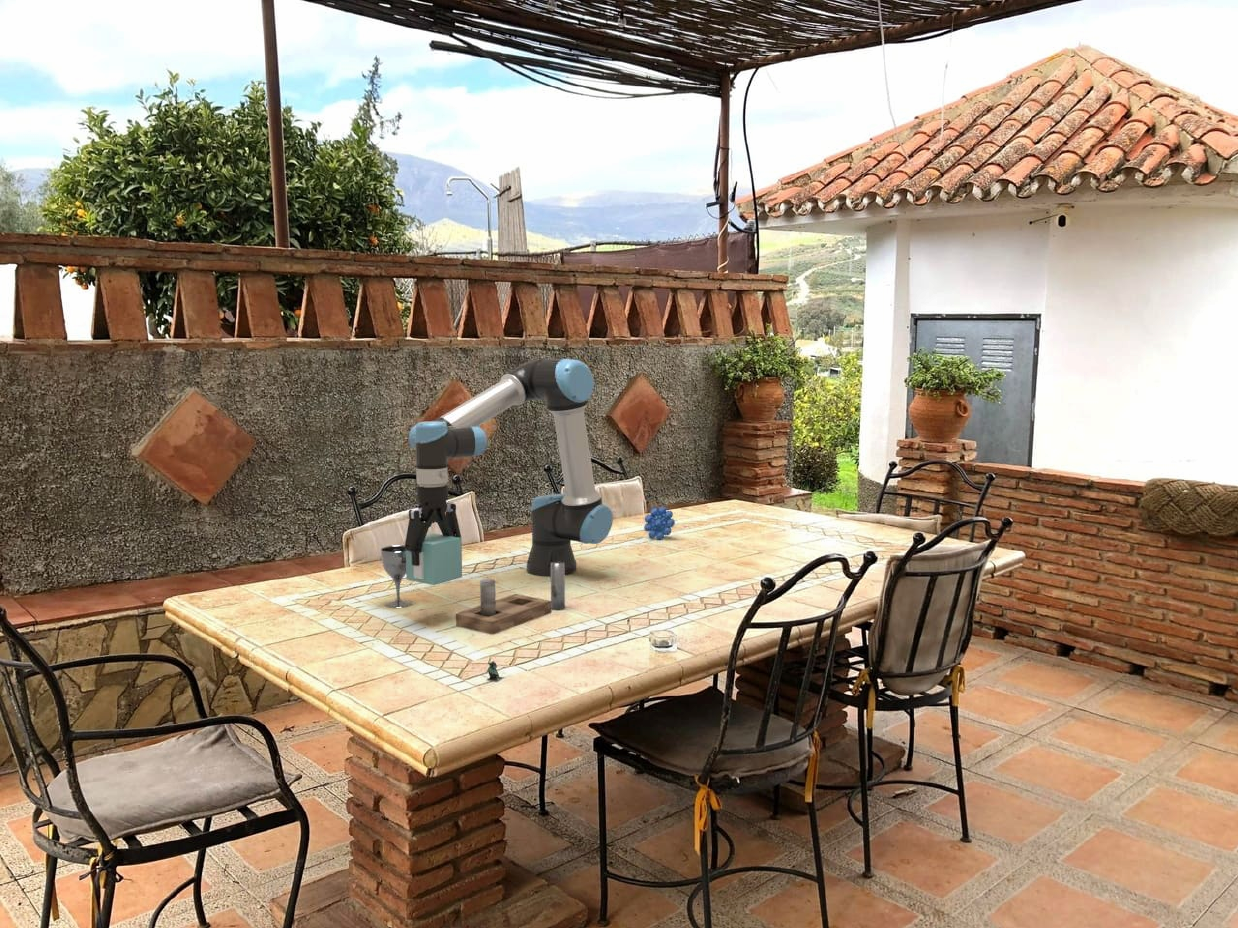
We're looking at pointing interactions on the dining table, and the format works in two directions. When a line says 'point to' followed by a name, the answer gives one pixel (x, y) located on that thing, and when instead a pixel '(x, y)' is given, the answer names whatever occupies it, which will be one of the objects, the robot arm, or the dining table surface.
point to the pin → (557, 585)
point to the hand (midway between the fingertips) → (434, 573)
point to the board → (501, 610)
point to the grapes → (659, 522)
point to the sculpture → (493, 672)
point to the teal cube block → (438, 560)
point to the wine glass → (395, 571)
